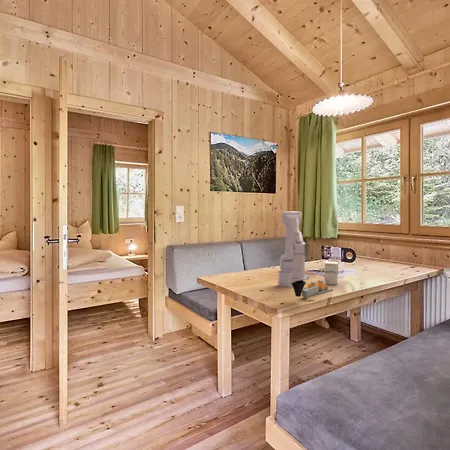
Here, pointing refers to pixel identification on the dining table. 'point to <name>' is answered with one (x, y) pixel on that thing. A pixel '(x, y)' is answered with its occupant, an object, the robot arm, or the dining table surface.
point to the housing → (321, 290)
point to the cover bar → (310, 291)
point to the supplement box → (331, 272)
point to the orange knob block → (321, 284)
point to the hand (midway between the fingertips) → (298, 296)
